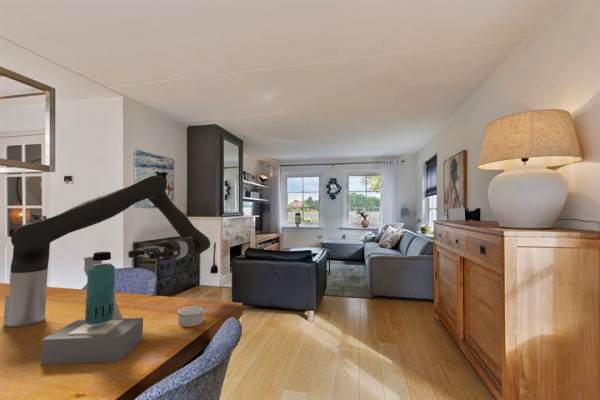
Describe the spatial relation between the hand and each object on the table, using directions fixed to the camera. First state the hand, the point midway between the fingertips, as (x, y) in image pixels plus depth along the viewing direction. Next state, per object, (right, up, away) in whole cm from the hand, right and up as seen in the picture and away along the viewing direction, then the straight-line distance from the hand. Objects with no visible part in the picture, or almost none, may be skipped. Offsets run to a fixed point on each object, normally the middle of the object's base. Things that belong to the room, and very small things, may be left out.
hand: (139, 255), depth 93 cm
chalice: (-35, -24, +25) cm, 49 cm away
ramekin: (+16, -24, +3) cm, 29 cm away
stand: (-2, -22, -17) cm, 28 cm away
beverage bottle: (-1, -16, -17) cm, 23 cm away
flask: (-13, -24, +4) cm, 27 cm away
